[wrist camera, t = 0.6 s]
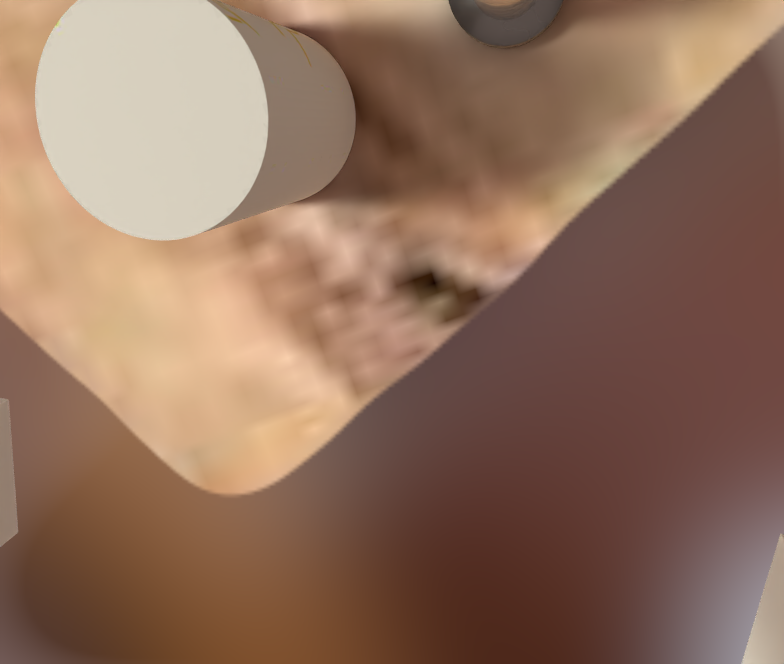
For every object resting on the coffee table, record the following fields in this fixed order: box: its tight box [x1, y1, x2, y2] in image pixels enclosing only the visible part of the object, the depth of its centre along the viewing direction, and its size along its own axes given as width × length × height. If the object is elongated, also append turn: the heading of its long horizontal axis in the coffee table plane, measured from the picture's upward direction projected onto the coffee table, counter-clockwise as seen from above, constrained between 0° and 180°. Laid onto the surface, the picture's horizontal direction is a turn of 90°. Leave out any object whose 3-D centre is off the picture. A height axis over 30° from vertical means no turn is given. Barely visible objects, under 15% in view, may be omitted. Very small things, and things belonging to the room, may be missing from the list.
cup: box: [35, 0, 356, 240], centre depth 29 cm, size 8×8×12 cm
